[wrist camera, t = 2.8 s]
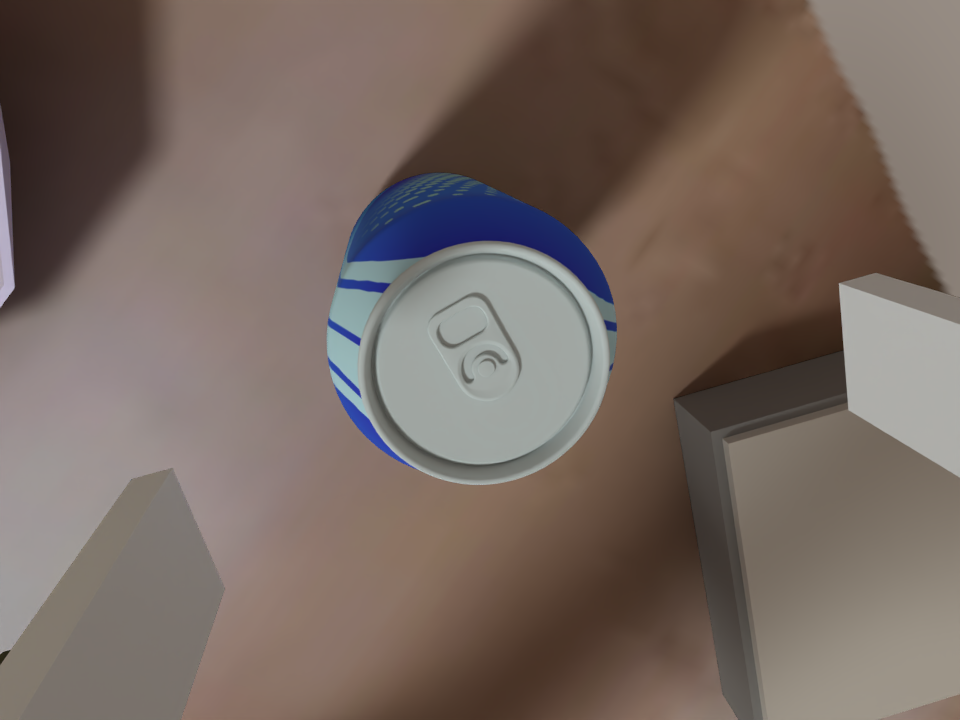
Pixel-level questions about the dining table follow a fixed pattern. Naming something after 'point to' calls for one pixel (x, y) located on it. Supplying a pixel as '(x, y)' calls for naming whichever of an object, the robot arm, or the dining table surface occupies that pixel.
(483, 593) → the dining table surface
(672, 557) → the dining table surface
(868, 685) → the plinth
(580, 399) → the beer can
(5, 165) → the fruit bowl
